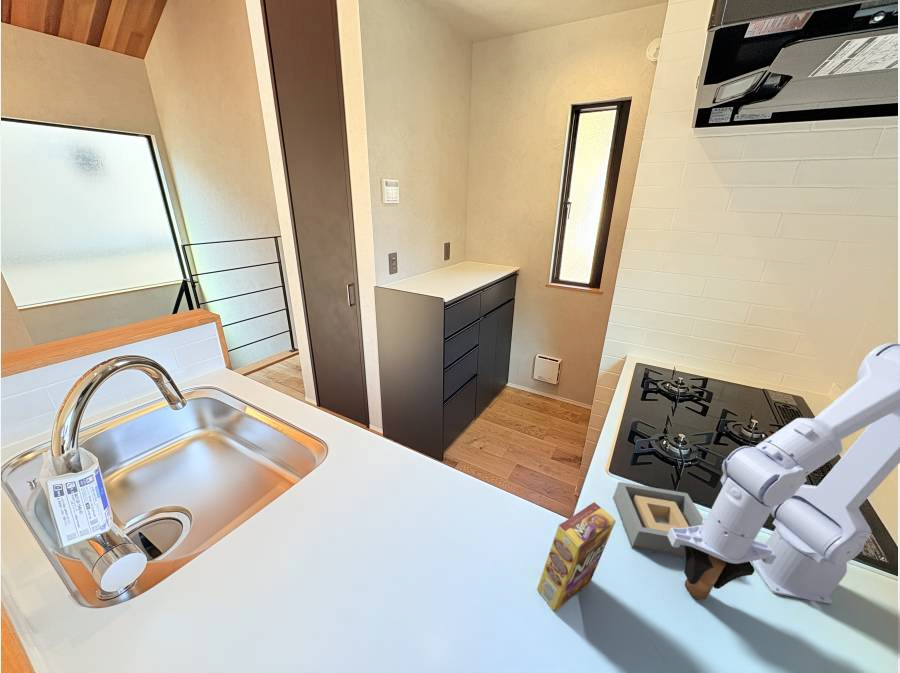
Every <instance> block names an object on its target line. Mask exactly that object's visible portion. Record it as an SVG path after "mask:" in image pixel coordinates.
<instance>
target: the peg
mask: <svg viewBox="0 0 900 673" xmlns="http://www.w3.org/2000/svg"><path fill="white" fill-rule="evenodd" d="M708 558H709V560H710V561H711V563H712V565H713V567H714V568H710V569H708V570H707V571H705V572H704V573H703V574H702V576H701V577H700V579H699V580H698V582H697V583H695V584H690V583H689V581H688V579H687V578H686V579H685V581H684V588H685V589H686V591H687V592H688V593H689V594H690V595H691V596H692V597H694V598H695V599H697V600H701V601H704V600H706V599H707V598H708V596H709V595H710V593H711V591H712V589H713V588H714V584H715V583H716V581H717V579H718V577H719V576H720V574H721V572H722V570H723V569H724V567H725V565H726V562H725V561H724V560H721V559H719V558H717V557H714V556H712V555H710V554H709V556H708Z"/></svg>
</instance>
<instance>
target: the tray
mask: <svg viewBox="0 0 900 673" xmlns="http://www.w3.org/2000/svg"><path fill="white" fill-rule="evenodd" d="M616 485H617V486H616V489H615V491H614V493H613V496H612V498H613V501H614V504H615V507H616V510H617V512H618V515H619V517H620V520H621V523H622V525H623V528H624V531H625V533H626V536H627V539H628V543H629V544H630V548H631V549H634V550H641V551H645V552H650V553H657V554H663V555H666V556H667V555H668V556H673V557H678V558H685V548H684V545H680V546H679V548H677V547H673V546H672V545H671V543H670V541H669V538H668V536H667V535H668V533H669V531H670V529H671V528H685V527H692V526H698V525H703V524H702V521H703V519H704V518H703V516H702V515H701V513H700V511H699V510H698V508H697V506H696V505H695V503H694V502H693V500H692V499H691V497H690V495H689V493H687V492H682V491H676V490H670V489H663V488H660V487H659V488H658V487H657V488H656V487H653V486H652V487H651V486H644V485H640V484H634V483H628V482H621V481H618V482H617V484H616Z"/></svg>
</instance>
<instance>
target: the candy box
mask: <svg viewBox="0 0 900 673" xmlns="http://www.w3.org/2000/svg"><path fill="white" fill-rule="evenodd" d="M615 524H616V519H615V518H614V517H613V516H612V515H611V514H610V513H609V512H607V511H606V509H604V508H602V507H601V506H599V504H597V503H596V502H595V501H594V502H592V503H590V504H589V505H587V506H586V507H584V508H583V509H581V510H580V511H579V512H577V513H576V514H574V515H572V516H571V517H570V518H568V519H566V520H565V521H564V522H561V523H560V524H558V526H557V529H556V532H555V535H554V538H553V541H552V544H551V547H550V549H549V553H548V556H547V558H546V562H545V565H544V567H543V571H542V574H541V577H540V580H539V583H538V585H537V588H536V591H537V592H538V593H539V594H540V595H541V597H542V598H543V599H544V600H545V602H546V604H548V605H549V607H550V608H551V610H552V611H553V612H554V613H555V612H557V611H558V610H560V608H562V607H563V606H564V605H565V604H566V603H568V602H569V601H570V600H571V599H573V597H575V596H576V595H577V594H579V593H580V592H581V591H582V590H584V588H586V587H587V586H589V585H590V584H591V582H592V579H593V577H594V575H595V572H596V570H597V567H598V565H599V562H600V560H601V558H602V556H603V552H604V550H605V548H606V546H607V543H608V541H609V538H610V536H611V534H612V531H613V529H614V526H615Z"/></svg>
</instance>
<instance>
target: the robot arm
mask: <svg viewBox="0 0 900 673" xmlns="http://www.w3.org/2000/svg"><path fill="white" fill-rule="evenodd" d="M858 368H859V369H858V371H857V374H856V383H854V384H853V385H852V386H851V387H849V388H848V389H847V390H846V391H845V392H843V393H842V394H841V395H840V396H839V397H837V398H835V400H834V401H833V402H832V403H830V404H829V405H828V406H826V407H825V408H824V409H823V410H822V411H820V413H819V414H816V416H815V417H813V418H809V417H797V418H795V419H793V420H792V421H790V422H789V423H788V424H786V425H785V426H783V427H782V428H780V429H779V430H777V431H776V432H774V433H773V434H772V435H770V436H768V437H767V438H765V439H763V441H761V442H760V443H758V444H756V446H749V445H743V446H740V447H738V448H735V449H734V450H733V451H732V452H731V453H729V455H728V456H727V457H726V459H724V460H723V462H722V464H721V471H722V472H723V473H722V476H721V478H720V483H721V485H722V487H721V490H720V492H719V493H718V495H717V497H716V499H715V501H714V503H713V504H712V507H711V509H710V511H709V513H708V515H707V517H706V518H703V521H702V524H703V525H698V526H692V527H685V528H671V529H670V531H669V533H668V535H667V536H668V538H669V541H670V543H671V545H672V546H673V547H677V548H679V546H680V545H684V548H685V560H684V569H683V570H684V571H683V573H684V574H685V577H686V580H687V579H688V581H689V583H690V584H695V583H697V582H698V580H699V579H700V577H701V576H702V574H703V573H704V572H705V571H707V570H708V569H710V568H714V567H713V565H712V563H711V561H710V560H709V558H708V556H709V554H710V555H712V556H714V557H717V558H719V559H721V560H724V561H725V562H726V565H725V567H724V569H723V570H722V572H721V574H720V576H719V577H718V579H717V581H716V583H715V584H714V586H713V588H714V589H716V590H718V589H721V588H723V587H725V585H727V584H729V583H730V582H733V581H735V580H736V579H739V578H743V577H747V576H753V574H754V573H755V569H756V570H757V572H758V573H759V574H760V576H761V577H762V579H763V580H764V582H765V583H766V585H767V586H768V588H769V590H770V591H771V593H773V594H776V595H782V596H787V597H792V598H798V599H803V600H807V601H809V600H810V601H813V602H818V603H825V604H832V603H833V600H832V598H831V597H830V595H831V593H832V592H834V590H835V589H836V588H837V586H838V585H839V584H840V582H842V580H843V578H844V577H845V576H846V574H847V571H848V566H847V565H848V564H847V563H849V562H850V561H852V560H853V559H854V558H856V557H857V556H858V555H860V553H861V552H862V550H863V549H864V547H865V544H866V542H867V541H868V540H869V538H870V537H871V534H872V533H873V531H872V529H871V527H870V525H869V524H868V522H867V520H866V519H865V517H864V515H863V513H862V512H861V510H860V506H862V505H863V503H865V501H866V500H867V499H868V498H869V497H870V496H871V494H873V492H874V491H875V490H876V489H878V487H879V486H880V485H881V484H882V483H883V482H884V480H886V478H888V476H889V475H890V474H891V473H892V472H893V471H894V470H895V468H896V467H898V465H899V464H900V344H899V343H897V342H887V343H883V344H880V345H878V346H876V347H874V348H873V349H872V350H871V351H870V352H868V354H867V355H866V356H865V357H864V358H863V360H862V362H861V364H860V366H859V367H858ZM864 428H865V429H864ZM861 429H864V430H863V431H862V433H861V434H860V435H859V437H858V438H856V440H855V441H854V443H852V445H851V446H850V447H849V448H848V449H847V450H846V452H845V453H844V454H843V455H842V456H841V458H840V459H839V460H838V462H836V463H835V465H834V466H833V467H832V469H830V471H829V472H828V473H827V474H826V476H825V477H824V478H823V479H822V480H821V482H819V484H817V485H812V484H811V485H810V484H805V483H807V481H808V480H807V476H809V475H810V474H811V473H813V472H814V471H816V470H817V469H819V468H821V467H822V466H823V465H825V464H826V463H828V462H829V461H831V460H832V459H834V458H836V457H837V456H839V455H840V454H841V453H842V452H843V444H842V440H843V439H845V438H846V437H847V438H848V437H849V436H850V435H852V434H854V433H856V432H858V431H861ZM770 514H771V517H772V518H774V520H773V522H772V525H773V526H775V528H774V530H773V532H772V533H771V535H770V536H769V538H768V539H767V541H766V543H764V542H759V541H756V540H755V539H756V538H757V536H758V535H759V533H760V531H761V529H762V528H763V527H764V524H765V523H766V521H767V519H769V517H770Z"/></svg>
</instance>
